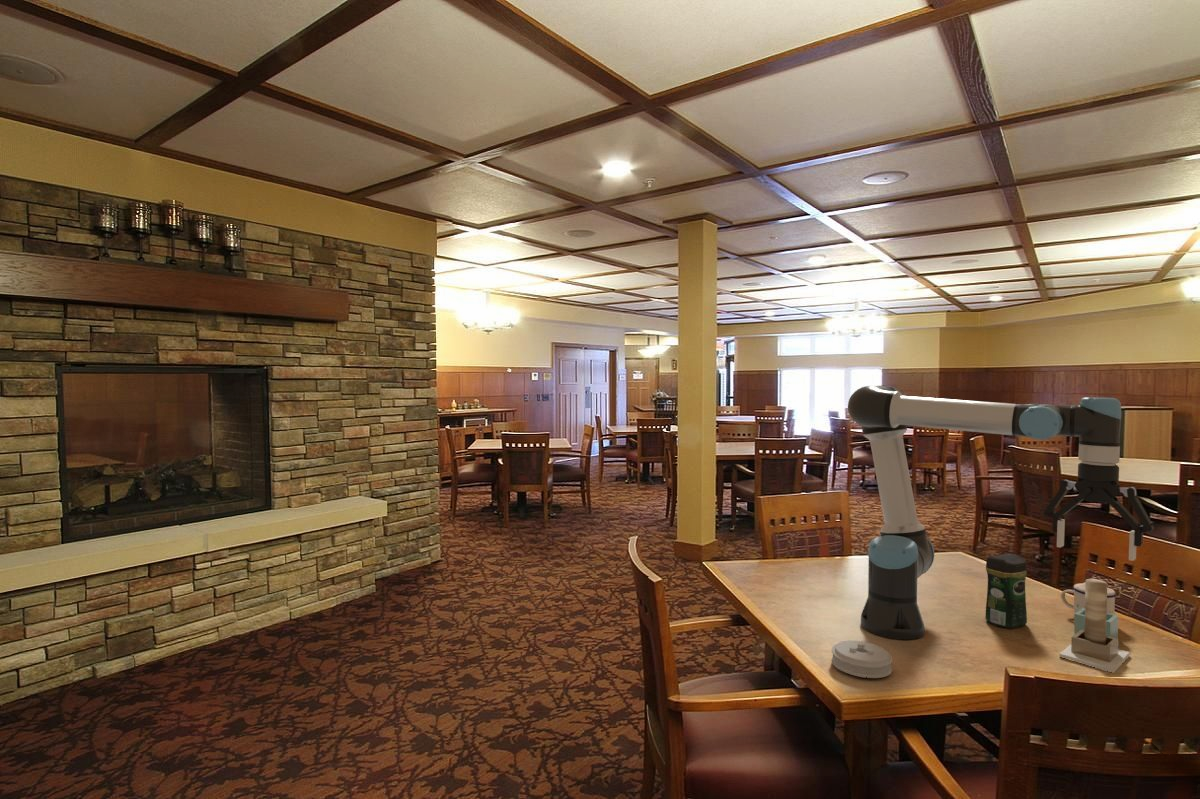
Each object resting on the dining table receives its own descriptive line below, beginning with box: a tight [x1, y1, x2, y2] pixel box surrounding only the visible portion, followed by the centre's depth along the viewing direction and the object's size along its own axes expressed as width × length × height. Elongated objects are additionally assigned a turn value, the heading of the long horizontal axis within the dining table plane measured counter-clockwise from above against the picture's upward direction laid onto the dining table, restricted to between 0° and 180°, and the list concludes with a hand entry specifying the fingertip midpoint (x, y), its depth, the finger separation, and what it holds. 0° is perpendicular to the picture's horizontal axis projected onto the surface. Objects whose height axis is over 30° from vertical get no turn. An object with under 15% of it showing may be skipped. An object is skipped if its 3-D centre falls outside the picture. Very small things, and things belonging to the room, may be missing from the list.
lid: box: [831, 639, 893, 679], centre depth 140 cm, size 13×13×5 cm
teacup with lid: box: [1060, 578, 1117, 619], centre depth 169 cm, size 12×9×12 cm
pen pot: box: [1073, 608, 1119, 639], centre depth 157 cm, size 7×7×6 cm
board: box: [1059, 644, 1131, 674], centre depth 146 cm, size 14×10×1 cm
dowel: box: [1084, 578, 1108, 645], centre depth 146 cm, size 4×4×17 cm
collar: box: [1070, 630, 1119, 662], centre depth 146 cm, size 7×7×4 cm
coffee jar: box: [985, 552, 1028, 629], centre depth 167 cm, size 10×8×19 cm
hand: (1094, 552), depth 146 cm, fingers open, 13 cm apart
